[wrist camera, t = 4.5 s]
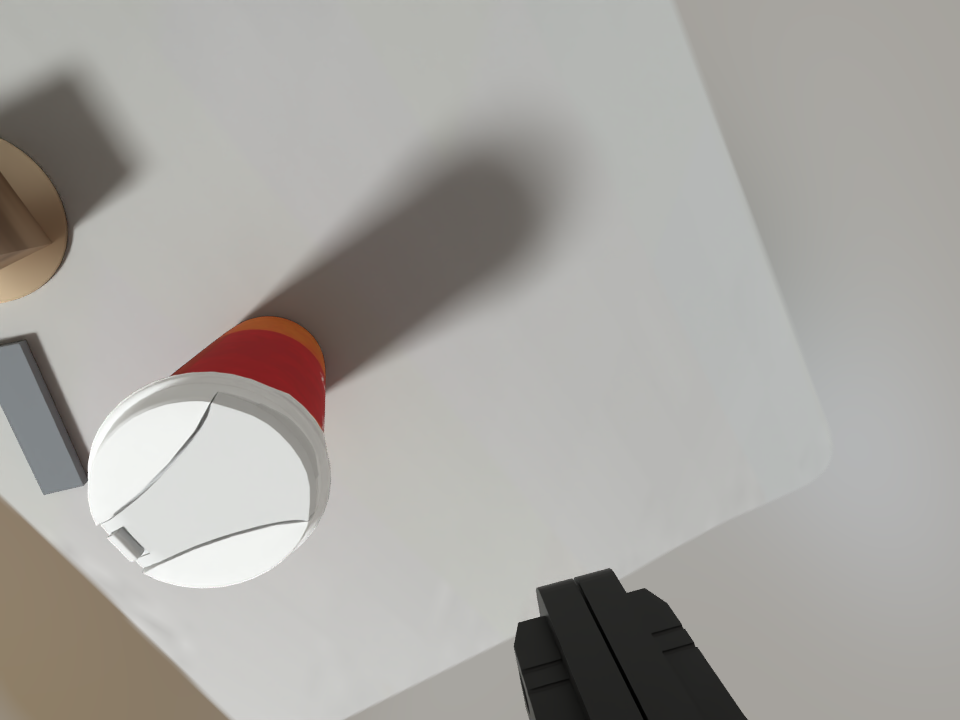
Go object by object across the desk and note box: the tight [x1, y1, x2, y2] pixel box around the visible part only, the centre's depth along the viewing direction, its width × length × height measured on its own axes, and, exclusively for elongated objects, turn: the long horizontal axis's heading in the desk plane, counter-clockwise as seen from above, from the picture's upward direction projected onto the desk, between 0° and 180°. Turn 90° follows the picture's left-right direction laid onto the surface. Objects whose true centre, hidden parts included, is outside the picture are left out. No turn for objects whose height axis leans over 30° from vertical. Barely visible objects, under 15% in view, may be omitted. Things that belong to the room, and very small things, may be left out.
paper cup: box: [88, 316, 331, 588], centre depth 26 cm, size 8×8×14 cm
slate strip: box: [0, 340, 88, 495], centre depth 31 cm, size 8×2×1 cm, turn 10°
